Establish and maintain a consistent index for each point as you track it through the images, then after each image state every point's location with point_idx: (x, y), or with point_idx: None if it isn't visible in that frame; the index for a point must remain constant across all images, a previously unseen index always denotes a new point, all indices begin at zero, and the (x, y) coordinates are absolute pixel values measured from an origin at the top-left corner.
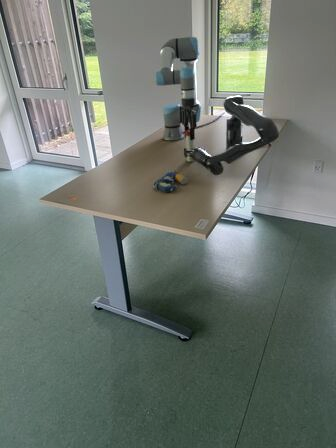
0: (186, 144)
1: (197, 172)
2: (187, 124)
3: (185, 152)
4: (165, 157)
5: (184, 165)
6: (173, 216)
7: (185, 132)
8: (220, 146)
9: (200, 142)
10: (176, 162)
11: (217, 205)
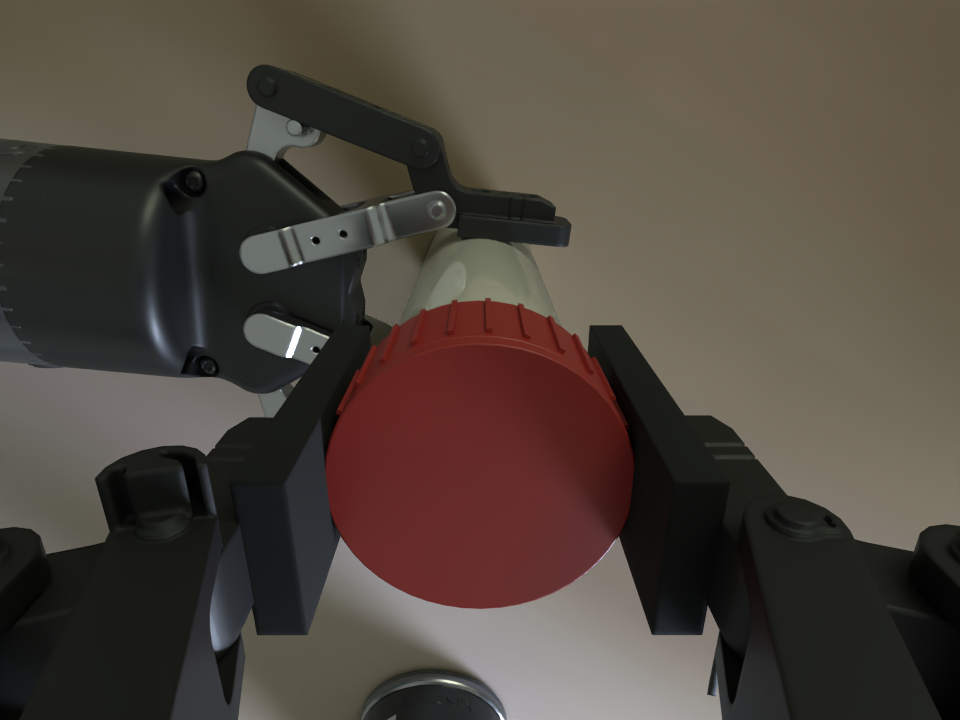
0: (495, 258)
1: (29, 93)
2: (734, 663)
3: (315, 106)
4: (854, 8)
5: (363, 81)
6: None
7: (485, 327)
8: (624, 704)
9: None
10: (543, 44)
11: None
